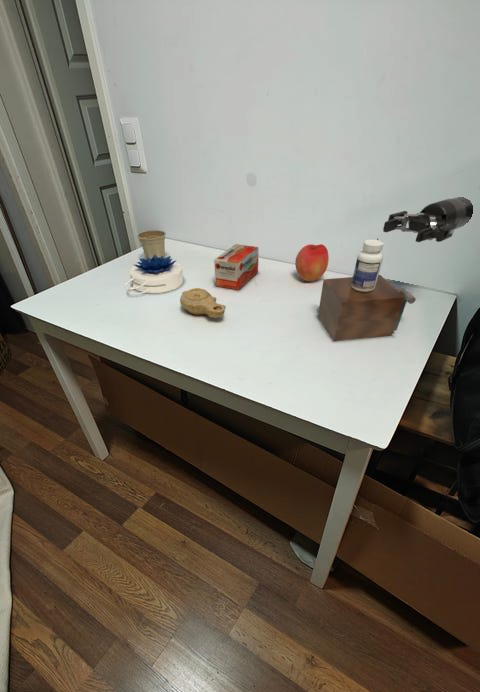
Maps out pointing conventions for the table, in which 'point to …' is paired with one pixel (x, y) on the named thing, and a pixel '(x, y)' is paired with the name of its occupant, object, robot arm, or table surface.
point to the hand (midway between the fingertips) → (401, 232)
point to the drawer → (409, 299)
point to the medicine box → (236, 266)
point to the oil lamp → (201, 303)
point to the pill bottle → (368, 266)
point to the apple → (312, 262)
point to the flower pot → (153, 243)
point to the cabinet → (359, 309)
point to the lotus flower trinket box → (155, 275)
